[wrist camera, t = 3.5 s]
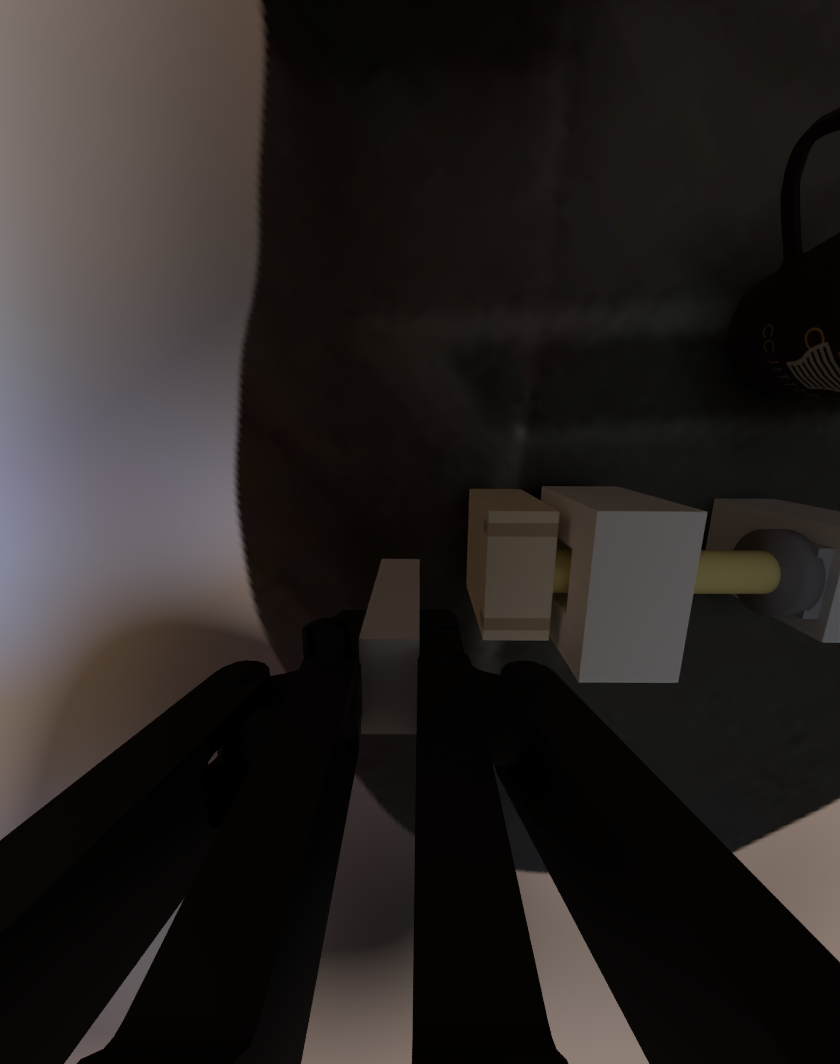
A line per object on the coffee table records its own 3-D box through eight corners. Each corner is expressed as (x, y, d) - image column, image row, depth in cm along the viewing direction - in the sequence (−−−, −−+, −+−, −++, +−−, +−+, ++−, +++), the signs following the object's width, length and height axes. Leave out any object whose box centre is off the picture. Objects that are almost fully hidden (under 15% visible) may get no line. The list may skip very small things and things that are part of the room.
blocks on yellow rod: (466, 584, 26) (486, 651, 18) (469, 488, 24) (492, 516, 17) (755, 586, 26) (899, 653, 18) (775, 490, 24) (941, 518, 17)
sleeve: (532, 609, 24) (578, 682, 17) (541, 486, 22) (597, 511, 15) (603, 609, 24) (677, 682, 17) (617, 486, 22) (707, 511, 15)
